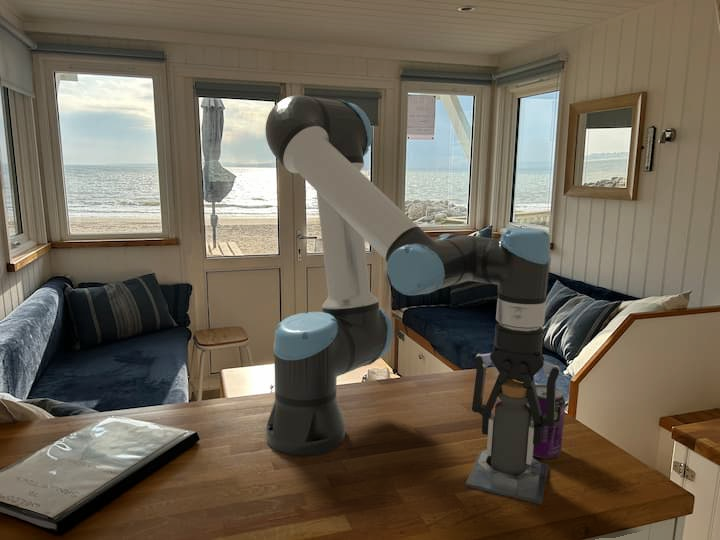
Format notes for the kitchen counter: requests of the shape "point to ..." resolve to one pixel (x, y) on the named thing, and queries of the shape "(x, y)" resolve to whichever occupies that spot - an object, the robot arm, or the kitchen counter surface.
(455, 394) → the kitchen counter surface
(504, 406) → the bottle
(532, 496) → the ring seat
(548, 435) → the beverage can
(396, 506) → the kitchen counter surface
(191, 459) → the kitchen counter surface
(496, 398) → the robot arm
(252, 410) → the kitchen counter surface
